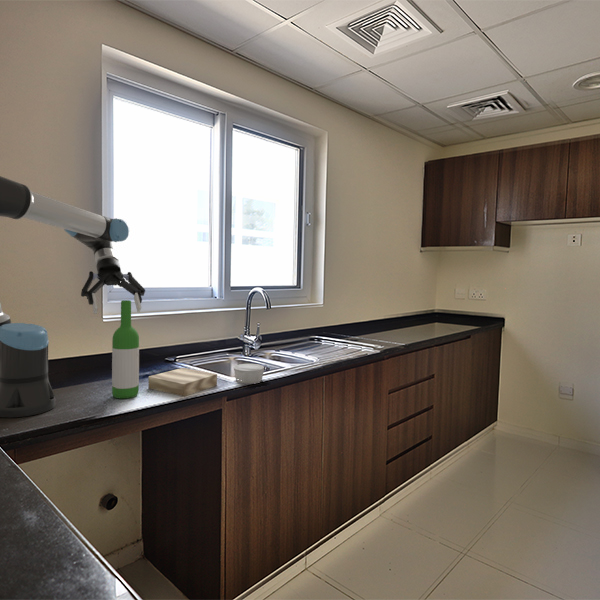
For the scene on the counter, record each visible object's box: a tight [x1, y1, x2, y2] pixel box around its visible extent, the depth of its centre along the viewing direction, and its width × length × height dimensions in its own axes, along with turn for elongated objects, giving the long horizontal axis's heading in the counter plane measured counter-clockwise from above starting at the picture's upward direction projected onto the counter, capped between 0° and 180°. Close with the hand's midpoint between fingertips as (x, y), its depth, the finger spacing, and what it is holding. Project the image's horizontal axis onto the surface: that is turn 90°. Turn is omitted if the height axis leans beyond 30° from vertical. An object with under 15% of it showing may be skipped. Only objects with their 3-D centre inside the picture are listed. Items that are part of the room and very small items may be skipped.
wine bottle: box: [111, 299, 140, 400], centre depth 135 cm, size 8×8×30 cm
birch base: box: [148, 367, 218, 397], centre depth 148 cm, size 16×16×4 cm
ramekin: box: [233, 363, 265, 385], centre depth 160 cm, size 11×11×5 cm
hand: (118, 310), depth 143 cm, fingers open, 13 cm apart
